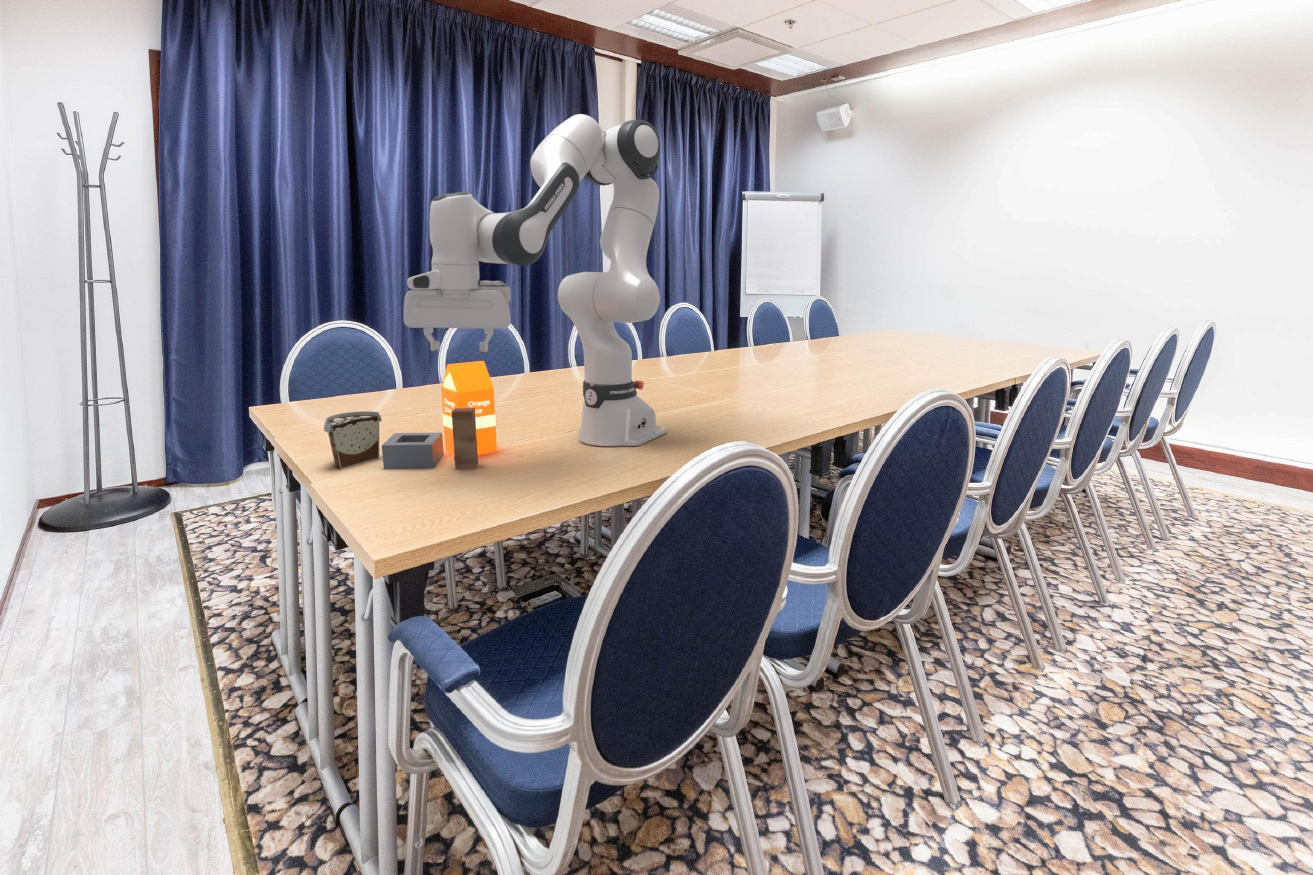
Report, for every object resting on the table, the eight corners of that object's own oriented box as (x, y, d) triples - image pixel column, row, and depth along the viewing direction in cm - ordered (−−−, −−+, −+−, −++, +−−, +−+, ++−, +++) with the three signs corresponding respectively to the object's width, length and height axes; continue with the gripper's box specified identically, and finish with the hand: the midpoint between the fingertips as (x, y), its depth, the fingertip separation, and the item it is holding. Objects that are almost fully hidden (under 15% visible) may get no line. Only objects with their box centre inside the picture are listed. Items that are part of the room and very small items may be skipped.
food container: (366, 452, 153) (362, 408, 150) (385, 456, 150) (381, 411, 147) (315, 466, 142) (309, 419, 140) (334, 471, 139) (328, 423, 137)
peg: (458, 463, 145) (455, 407, 142) (478, 463, 146) (474, 407, 143) (455, 469, 142) (451, 412, 139) (475, 468, 142) (471, 411, 139)
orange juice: (445, 451, 154) (438, 362, 149) (481, 444, 160) (476, 358, 155) (460, 458, 149) (455, 366, 144) (497, 451, 154) (493, 362, 149)
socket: (396, 455, 151) (394, 433, 150) (443, 454, 152) (442, 432, 150) (383, 468, 141) (381, 445, 140) (433, 468, 142) (432, 444, 141)
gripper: (512, 280, 138) (514, 349, 142) (407, 278, 136) (411, 348, 140) (508, 281, 132) (510, 353, 135) (398, 279, 130) (403, 352, 134)
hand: (459, 351), depth 138 cm, fingers open, 8 cm apart
